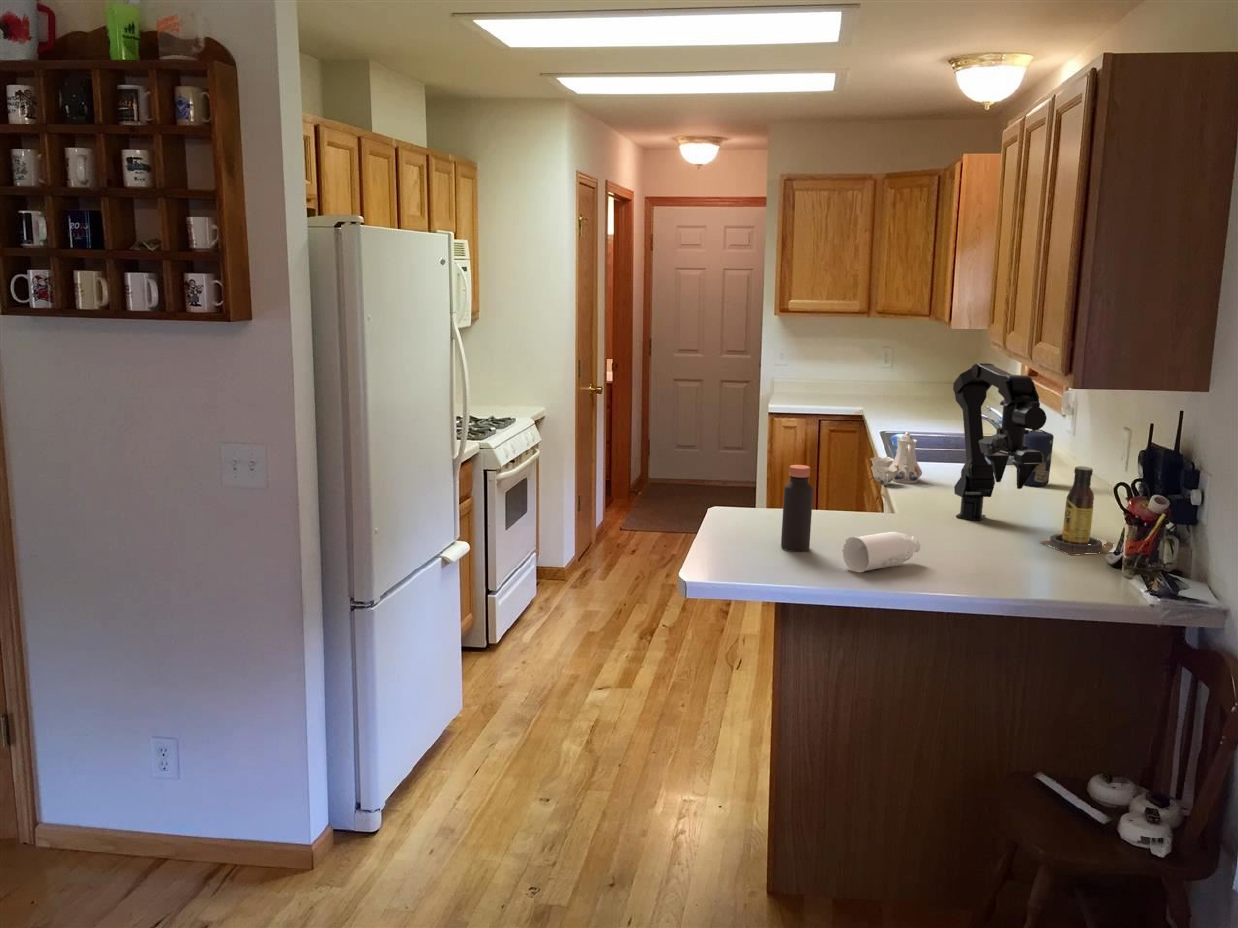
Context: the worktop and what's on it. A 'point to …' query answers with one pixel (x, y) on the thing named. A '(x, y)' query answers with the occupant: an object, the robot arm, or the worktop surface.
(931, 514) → the worktop surface
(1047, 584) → the worktop surface
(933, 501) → the worktop surface
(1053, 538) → the cup bracket
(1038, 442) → the candle
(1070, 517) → the sauce bottle
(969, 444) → the robot arm
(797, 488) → the vinegar
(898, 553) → the white bottle
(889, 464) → the chinaware
